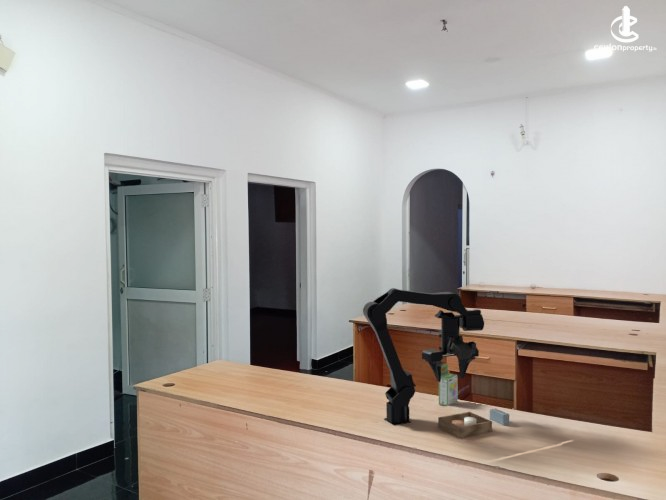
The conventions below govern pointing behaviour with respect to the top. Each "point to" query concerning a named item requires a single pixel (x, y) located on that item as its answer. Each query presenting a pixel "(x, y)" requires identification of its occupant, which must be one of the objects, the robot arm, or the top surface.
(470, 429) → the box
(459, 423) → the puck terracotta
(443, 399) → the ink box
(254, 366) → the top surface
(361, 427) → the top surface
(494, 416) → the lid
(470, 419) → the puck cream
